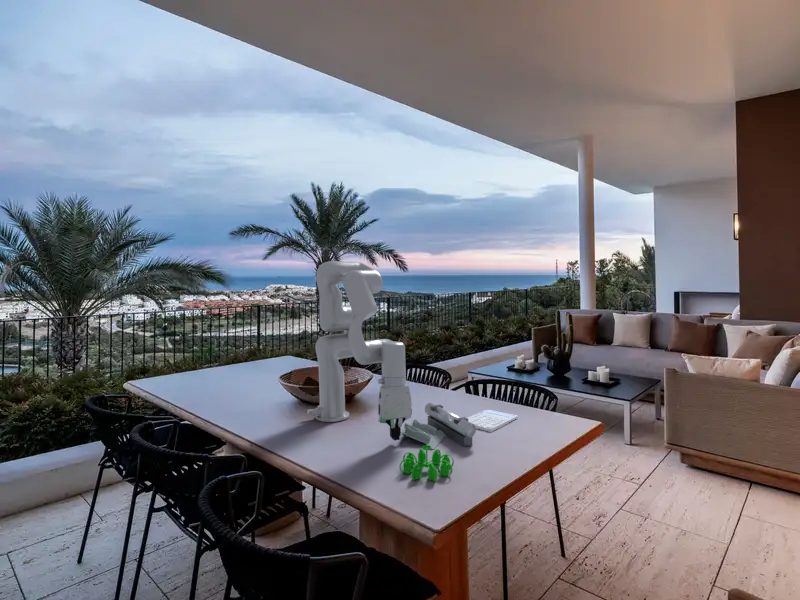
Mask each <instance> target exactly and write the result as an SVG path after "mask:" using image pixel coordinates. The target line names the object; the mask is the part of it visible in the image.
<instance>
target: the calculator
mask: <svg viewBox="0 0 800 600" xmlns="http://www.w3.org/2000/svg"><path fill="white" fill-rule="evenodd" d="M466 418H467V419H468V422H470V423H472V424H474V425H475V427H476V430H479V429H480V430H479V431H483V430H484V431H483V432H487V431H488V433H492V432H495V431H496V429H497V430H499V429H500V428H503V427H504V426H506V425H508V424H510V423H512V422H514V421H516V420H518V415H517V414H514V413H509V412H505V411H504V412H503V411H501V410H500V411H498V410H494V409H484V410H481V411H480V412H477V413H475V414H473V415H471V416H468V417H466ZM515 419H516V420H515ZM513 420H514V421H513ZM511 421H512V422H511ZM509 422H510V423H509ZM505 424H506V425H505ZM503 425H504V426H503ZM494 430H495V431H494Z"/></svg>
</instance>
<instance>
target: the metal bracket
mask: <svg viewBox="0 0 800 600" xmlns="http://www.w3.org/2000/svg"><path fill="white" fill-rule="evenodd" d="M403 427H404V428H403V429H402V430H401V436H402V439H405V437H409V438H412V439H413V440H416V441H419V442H421V443H423V444H425V445H429V446H431V449H430V450H433V451H435V450H436V449H437V447H438V446H439V445H440V443H441V442H442V441H443V439H444V438H446V437H447V436H446V435H445V434H444V433H443V432H442V430H437V428H435V427H432V426H430V425H428V423H421V422H419V421H418V420H417V419H414V420H413V421H411V422H410V423H406V422H404V426H403ZM445 436H446V437H445Z"/></svg>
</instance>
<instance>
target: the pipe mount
mask: <svg viewBox="0 0 800 600" xmlns="http://www.w3.org/2000/svg"><path fill="white" fill-rule="evenodd" d="M424 413H425V414H426V415H427V424H428V425H430V426H432V427H435V428H437V431H438V430H442V432H443V433H444V434H445V435H446V437H447V438H449V439H451V440H452V441H454V442H455V443H457V444H459V445H461V446H462V447H464V448H466V447H469V446H470V447H471V446H473V437H474V436H475V434H476V432H477V429H476V427H475V425H474V424H472V423H470V422H468V419H467V418H468V417H465V416H464V417H462V416H461V417H460V416H458V415H456V414H454V413H452V412H451V411H449V410H447V409H445V408H444V405H442V404H435V403H433V402H428V403H427V404H426V405H425V406H424Z"/></svg>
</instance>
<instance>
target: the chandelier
mask: <svg viewBox="0 0 800 600" xmlns="http://www.w3.org/2000/svg"><path fill="white" fill-rule="evenodd" d="M429 450H432V449H431V446H429V445H427V444H425V445H422V448H420V449H419V451H418V454H417V456H416V455H415V454H414V452H411V451H408V452H406V453H404V455H403V456H402V460H401V461H400V463H399V470H400V472H401V473H402V475H405V474H411V479H412V480H413V481H415V480H419V479H421V478H422V470H423V468H428V471H427V473H428V475H427V477H428V479H429V480H430V481H432V483H434V482H436V480H437V478H438V477H437V476H438V474H437V473H439V475H440V476H442V477H443V476H444V477H447V478H448V477H450V476H451V475H452V473H453V466H454V462H455V461H454V458H453V456H452V455H450V454H449V453H446V454H442V453H441V450H440V449H437V448H436V449H435V450H433V452H432V456H431V460H430V461H428V460H429V459H428V458H429V457H428V451H429ZM450 458H451V460H452V463H451V460H450ZM402 464H403V467H401V466H402ZM412 467H413V468H412ZM401 468H403V469H401ZM404 473H405V474H404Z"/></svg>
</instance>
